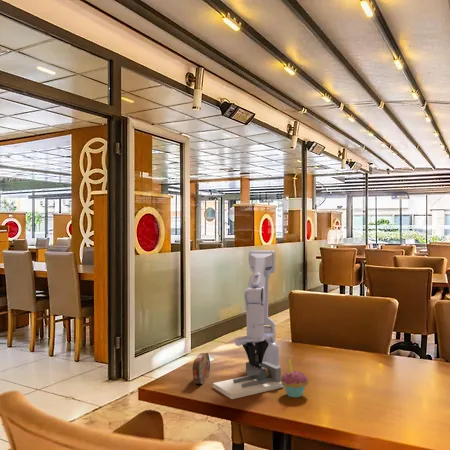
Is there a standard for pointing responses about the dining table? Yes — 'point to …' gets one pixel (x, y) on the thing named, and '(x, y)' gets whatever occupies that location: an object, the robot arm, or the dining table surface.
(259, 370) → the sliding jaw
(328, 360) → the dining table surface
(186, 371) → the dining table surface
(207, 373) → the tin
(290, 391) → the cupcake
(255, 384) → the board
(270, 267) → the robot arm
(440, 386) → the dining table surface
